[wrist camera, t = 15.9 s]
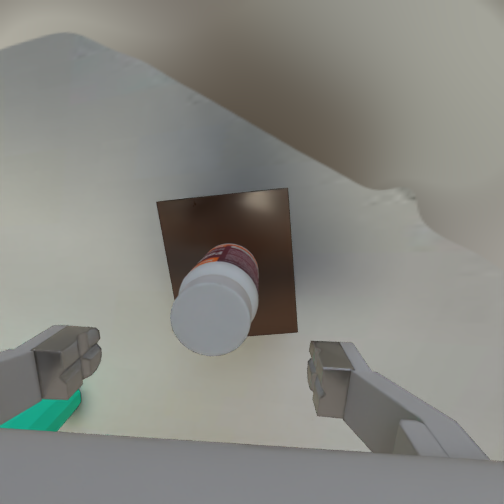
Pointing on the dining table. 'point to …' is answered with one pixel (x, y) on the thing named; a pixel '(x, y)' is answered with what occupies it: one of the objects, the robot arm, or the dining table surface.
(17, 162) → the dining table surface
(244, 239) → the walnut box
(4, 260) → the dining table surface
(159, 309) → the dining table surface
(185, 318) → the pill bottle
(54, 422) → the candle
